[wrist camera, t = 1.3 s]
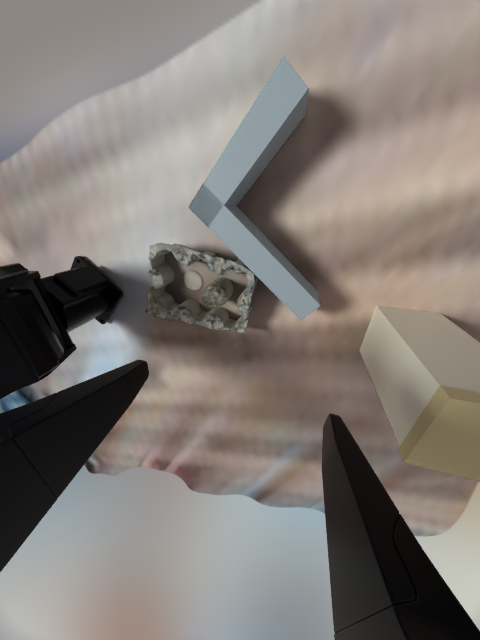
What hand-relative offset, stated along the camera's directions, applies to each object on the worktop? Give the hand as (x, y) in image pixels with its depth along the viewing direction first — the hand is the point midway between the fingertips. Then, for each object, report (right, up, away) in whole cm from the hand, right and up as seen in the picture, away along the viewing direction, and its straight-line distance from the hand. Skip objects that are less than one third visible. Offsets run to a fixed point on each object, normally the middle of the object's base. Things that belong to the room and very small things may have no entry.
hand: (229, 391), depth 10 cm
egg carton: (-3, +8, +13) cm, 15 cm away
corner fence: (+5, +12, +7) cm, 15 cm away
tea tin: (+15, +2, +10) cm, 18 cm away
